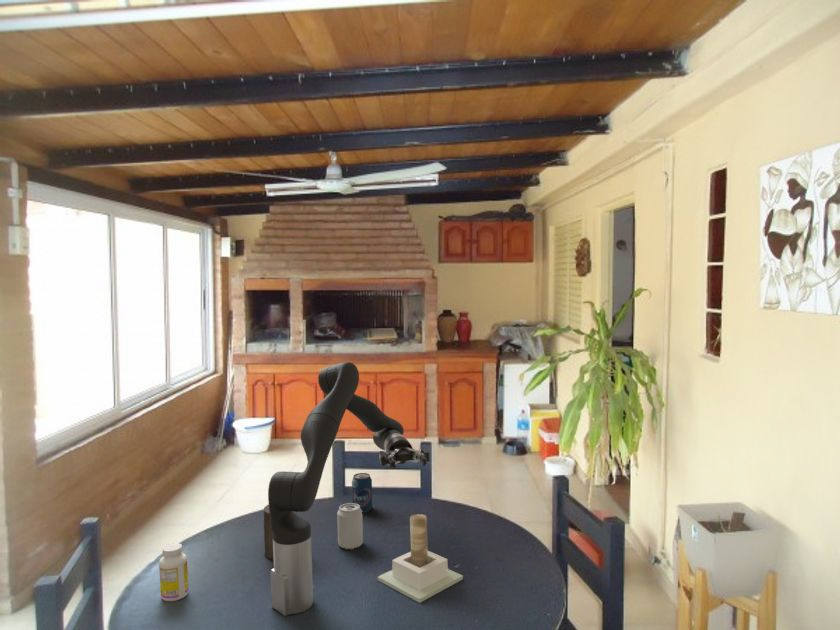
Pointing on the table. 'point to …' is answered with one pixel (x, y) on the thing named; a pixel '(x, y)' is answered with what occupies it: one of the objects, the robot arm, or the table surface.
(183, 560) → the supplement bottle
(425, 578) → the socket
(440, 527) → the table surface
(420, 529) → the peg
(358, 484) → the soda can
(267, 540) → the pillar candle
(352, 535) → the can
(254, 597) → the table surface
